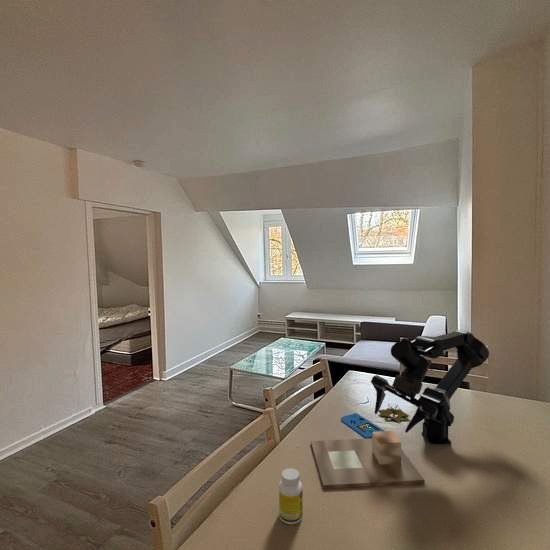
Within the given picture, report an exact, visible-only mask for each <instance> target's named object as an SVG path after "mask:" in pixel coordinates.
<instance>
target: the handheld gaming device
mask: <svg viewBox="0 0 550 550" xmlns="http://www.w3.org/2000/svg"><path fill="white" fill-rule="evenodd" d="M340 421H341V422H342V423H343V424H344V425H346V426H347V425H348V427H349V428H350V429H352V430H353V431H354V432H356V433H357V434H359V435H360V436H361V435H362V436H361V437H363V439H369V438H372V432H379V431H385V430H384V429H383V428H381V427H380V426H378V425H376V424H375V423H373V422H372V421H370V420H368V419H367V418H365V417H364V416H362V415H360V414H359V413H357V412H353V413H351V414H347V415H344V416H341V418H340ZM366 424H367V425H366ZM367 426H368V427H367ZM369 427H371V428H369Z"/></svg>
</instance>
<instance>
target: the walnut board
mask: <svg viewBox="0 0 550 550" xmlns="http://www.w3.org/2000/svg"><path fill="white" fill-rule="evenodd" d="M310 445H311V446H310V447H311V449H312V453H313V456H314V461H315V463H316V467H317V469H318V475H319V478H320V481H321V486H322V488H323V490H329V489H331V490H332V489H349V488H350V489H351V488H366V487H367V488H370V487H387V486H391V487H392V486H407V485H409V486H410V485H425V483H426V482H425V481H426V480H425V479H424V478H423V476H422V474H421V473H420V472H419V471H418V469H417V468H416V467H415V465H414V464H413V463H412V461H411V460H410V458H409V457H408V456H407V454H406V453H405V452H404V450H403V449H402V448H401V464H379V462H378V461H377V459H376V457H375V455H374V454H373V452H372V438H369V439H366V438H353V439H352V438H351V439H350V438H349V439H347V438H346V439H332V440H331V439H330V440H329V439H328V440H311V441H310Z"/></svg>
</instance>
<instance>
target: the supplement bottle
mask: <svg viewBox="0 0 550 550" xmlns="http://www.w3.org/2000/svg"><path fill="white" fill-rule="evenodd" d="M303 496H304V495H303V483H302V482H301V481H300V472H299V471H298V470H297V469H295V468H292V467H290V468H285V469H284V470H283V471H282V472H281V480H279V484H278V517H279V520H280V521H281V522H283V523H284V524H287V525H296V524H298V523H300V521H302V519H303V517H304V516H303V513H304V511H303V509H304V508H303V507H304V506H303V505H304V504H303V502H304V501H303Z"/></svg>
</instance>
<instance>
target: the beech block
mask: <svg viewBox="0 0 550 550" xmlns="http://www.w3.org/2000/svg"><path fill="white" fill-rule="evenodd" d="M401 449H402V441H401V440H400V439H399V437H398V436H397V435H396V434H395V432H394V430H388V431H387V430H384V431H379V432H372V452H373V454H374V455H375V457H376V459H377V461H378V462H379V464H401Z"/></svg>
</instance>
